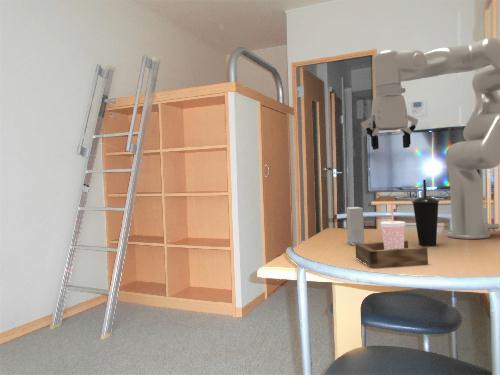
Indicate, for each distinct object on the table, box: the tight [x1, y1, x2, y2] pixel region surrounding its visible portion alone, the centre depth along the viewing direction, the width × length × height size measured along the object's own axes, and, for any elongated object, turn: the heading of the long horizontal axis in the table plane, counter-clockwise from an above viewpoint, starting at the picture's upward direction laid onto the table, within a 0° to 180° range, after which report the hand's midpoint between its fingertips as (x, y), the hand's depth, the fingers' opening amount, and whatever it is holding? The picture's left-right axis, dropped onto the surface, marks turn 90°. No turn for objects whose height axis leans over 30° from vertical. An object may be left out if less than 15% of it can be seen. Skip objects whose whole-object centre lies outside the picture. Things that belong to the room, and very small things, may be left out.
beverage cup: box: [379, 202, 406, 250], centre depth 102 cm, size 6×6×14 cm
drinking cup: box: [411, 179, 440, 247], centre depth 120 cm, size 8×8×20 cm
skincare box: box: [345, 206, 366, 246], centre depth 129 cm, size 6×4×12 cm
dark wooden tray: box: [354, 240, 429, 269], centre depth 102 cm, size 14×12×4 cm
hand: (391, 148), depth 121 cm, fingers open, 9 cm apart
